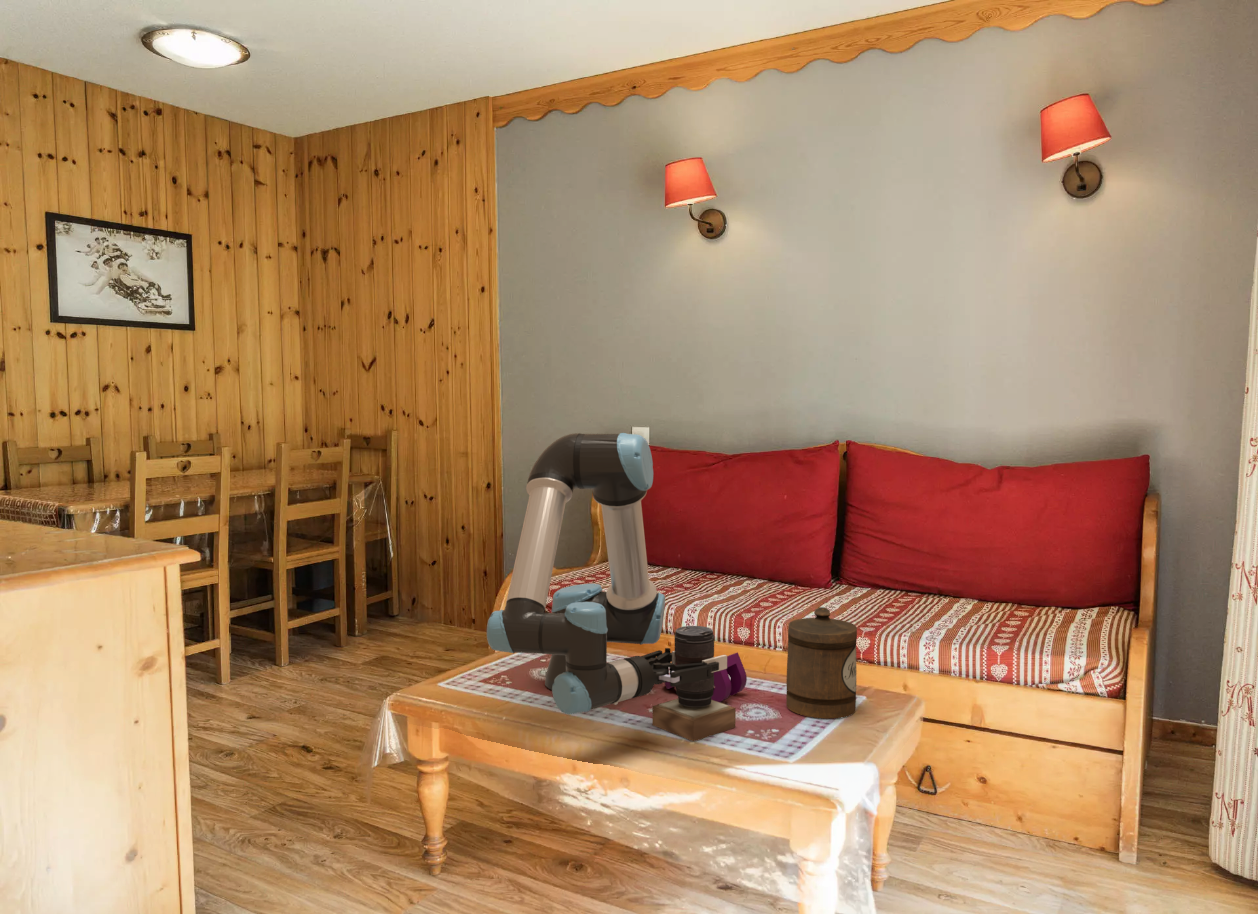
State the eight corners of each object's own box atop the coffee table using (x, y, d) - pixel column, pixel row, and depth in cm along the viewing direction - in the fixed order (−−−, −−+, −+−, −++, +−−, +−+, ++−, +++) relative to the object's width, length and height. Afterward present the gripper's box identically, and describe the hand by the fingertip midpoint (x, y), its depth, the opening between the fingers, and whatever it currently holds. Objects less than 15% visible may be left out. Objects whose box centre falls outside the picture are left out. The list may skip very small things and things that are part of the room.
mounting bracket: (669, 718, 201) (730, 698, 191) (656, 683, 203) (716, 661, 193) (691, 707, 209) (751, 687, 199) (678, 673, 211) (737, 652, 201)
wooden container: (865, 718, 184) (866, 615, 183) (795, 720, 183) (796, 616, 182) (844, 696, 199) (845, 599, 198) (779, 697, 198) (780, 600, 197)
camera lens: (667, 704, 178) (667, 631, 178) (686, 694, 185) (685, 623, 184) (703, 711, 174) (703, 636, 173) (721, 700, 181) (720, 628, 180)
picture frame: (652, 725, 180) (652, 704, 180) (693, 712, 188) (693, 691, 188) (693, 741, 171) (693, 719, 171) (735, 727, 179) (735, 705, 179)
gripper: (593, 685, 176) (675, 664, 190) (664, 712, 160) (748, 686, 175) (592, 648, 175) (675, 629, 190) (664, 671, 159) (748, 649, 174)
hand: (710, 657), depth 182 cm, fingers closed on camera lens, 8 cm apart
